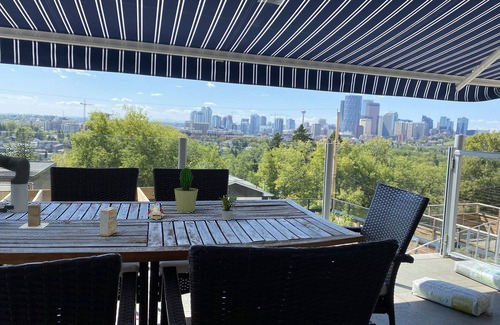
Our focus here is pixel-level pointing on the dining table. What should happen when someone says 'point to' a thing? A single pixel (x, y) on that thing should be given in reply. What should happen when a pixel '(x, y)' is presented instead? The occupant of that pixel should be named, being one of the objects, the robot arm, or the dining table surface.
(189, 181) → the potted cactus
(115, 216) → the supplement box
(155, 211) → the cat figure
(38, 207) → the walnut block
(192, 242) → the dining table surface
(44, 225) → the card
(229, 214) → the house plant
